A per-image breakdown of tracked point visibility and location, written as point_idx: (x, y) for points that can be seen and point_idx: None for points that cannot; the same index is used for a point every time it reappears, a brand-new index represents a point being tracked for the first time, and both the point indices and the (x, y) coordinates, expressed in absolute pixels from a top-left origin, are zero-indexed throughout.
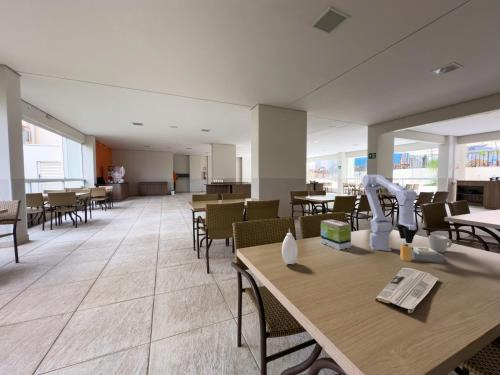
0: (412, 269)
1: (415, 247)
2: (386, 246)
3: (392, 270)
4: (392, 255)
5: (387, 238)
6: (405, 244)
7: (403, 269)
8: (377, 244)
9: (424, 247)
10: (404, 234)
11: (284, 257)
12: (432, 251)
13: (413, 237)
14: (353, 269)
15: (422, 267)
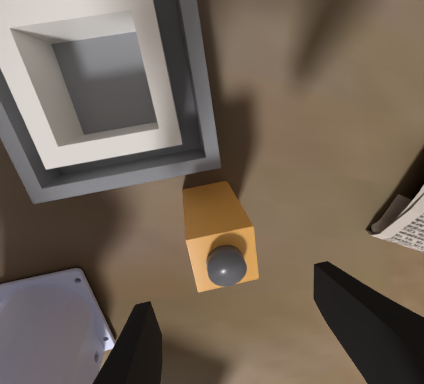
0: (421, 207)
1: (70, 156)
2: (71, 311)
3: (375, 262)
4: (164, 261)
5: (29, 370)
6: (233, 273)
7: (405, 236)
8: (86, 358)
9: (4, 64)
10: (143, 365)
11: None
12: (118, 13)
13: (403, 308)
14: None
15: (309, 139)
